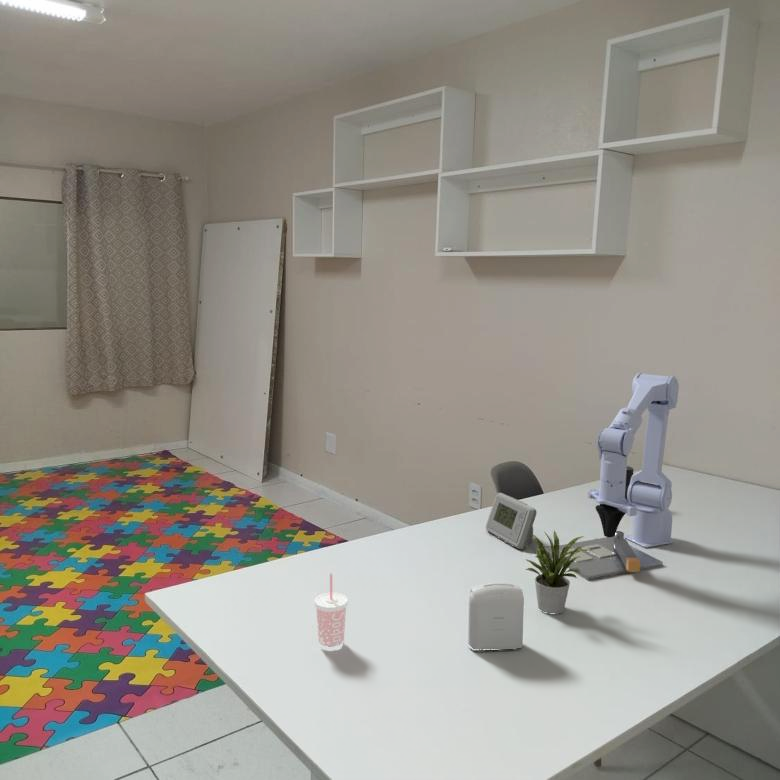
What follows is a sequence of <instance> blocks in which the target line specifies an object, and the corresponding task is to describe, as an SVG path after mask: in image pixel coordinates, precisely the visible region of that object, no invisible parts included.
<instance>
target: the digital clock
mask: <svg viewBox="0 0 780 780" xmlns="http://www.w3.org/2000/svg"><path fill="white" fill-rule="evenodd" d="M537 513H538V512H537V510H536V509H535V508H534V507H532V506H531V505H528V503H526V502H523V501H521V500H519V499H517V498H514V497H513V496H510V495H507V494H505V493H503V492H498V493H497V494H496V495H495V498H494V501H493V503H492V506H491V510H490V512H489V516H488V518H487V521H486V524H485V529H486V531H487V532H488V531H489V532H488V533H490V534H492V535H493V534H494V535H495V536H497V537H499V538H501V539H502V540H504V541H506V542H507V543H506V542H505V543H506V544H508V543H509V544H511V545H513V546H512V547H515V548H517V549H518V550H524V549H525V548H526V546H527V543H528V544H532V543H533V541H534V540H533V539H534V537H533V536H532V534H533V535H534V526H533V525H534V523H535V520H536V517H537ZM494 535H493V536H494ZM495 536H494V537H495ZM497 537H496V538H497ZM499 538H498V539H499ZM501 539H500V540H501ZM502 540H501V541H502ZM504 541H503V542H504ZM531 542H532V543H531ZM509 544H508V545H509ZM521 544H522V545H521ZM511 545H510V546H511ZM524 545H526V546H524Z"/></svg>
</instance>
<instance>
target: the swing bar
mask: <svg viewBox="0 0 780 780" xmlns="http://www.w3.org/2000/svg"><path fill="white" fill-rule="evenodd" d="M630 546H631V544H629V542H628V540H627V539H626V538H624V539H616V540H615V549H616V551H617V553H618V554H619V556H620V558H621V560H622V561H623V563H624V565H625V567H626V569H627V571H628V572H629V573H640V571H641V570H640V560H639V558H637V556H636V555H635V553H634V552H633V550H632V548H631V547H630Z"/></svg>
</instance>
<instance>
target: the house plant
mask: <svg viewBox="0 0 780 780" xmlns="http://www.w3.org/2000/svg"><path fill="white" fill-rule="evenodd" d="M543 533H544V534H545V536H546V537H547V538H548V539H547V540H549V543H550V547H551V549H552V558H551V557H549V552H548V550H545V548H546V547H545V545H544V544H543V543H542V541H541V540H540V539H539V538H538V537H537V536H536V535H534V533H533V534H532V536H533V539H534V540H535V542H536V545H537V548H536V555H534V557H535V558H537V559H538V563H539V564H538V563H536V562H534V561H533V560H530V559H525V561H526V562H529V563H530V564H531V565H533V567H535V568H536V569H538V570H539V571H538V570H536V569H535V568H533V567H527V568H525V571H530V572H533V573H535V574H537V575H536V576H535V578H534V583H535V591H536V600H537V609H538V608H539V609H540V610H542V611H544V612H547V613H555V614H557V615H559V614H558V613H561V612H562V613H564V609H565V606H566V602H567V597H568V593H569V589H570V584H571V582H570V580H569V577H572V578H575V579H578V577H577V576H576V574H575V572H578V573H579V574H580V570H579V569H577V568H573V569H568V567H569V565H570V564H571V563H572V562H573V561H574V560H575V559H577V558H579V557H575V558H573V559H571V557H572V556H573V555H574V554H576V553H578V552H581V551H591V550H587V549H582V550H579V549H580V548H582V547H584V546H580V547H578V548H576V549H575V550H574V551H573V552H572V553H571V554H570V556H567V557H565V556H566V555H567V554H568V553H569V552H571V551H569V552H568V550H569V549H570V547H571V546H572V545H573V544H574V543H576V542H578V541H579V540H580V539H582V538H584V537H585V536H577V537H575V538H572V539H571V540H570V541H569V542H568V543H566V544H567V546H566V547H564V548H563V550H562V552H561V555H560V558H559V545H560V539H559V537H558V535H557V532H556V531H555V530H553V539H552V537H551V536H550V535H548V534H547V533H546V532H545V531H543ZM521 545H522V544H521ZM524 546H525V547H527V548H528V549H530V550H532V551H533V549H532V548H531V547H530V546H528V545H527V544H526V545H524ZM564 557H565V558H564ZM580 557H581V556H580ZM567 558H568V559H567ZM570 559H571V560H570ZM567 569H568V570H567ZM569 572H571V573H569ZM572 572H573V573H572ZM567 577H568V578H567ZM539 609H538V610H539ZM540 610H539V611H540ZM562 613H561V614H562Z"/></svg>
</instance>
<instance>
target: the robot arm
mask: <svg viewBox="0 0 780 780" xmlns="http://www.w3.org/2000/svg"><path fill="white" fill-rule="evenodd" d="M631 384H632V385H631V391H632V397H630V400H629V402H628V404H627V407H623V408H621V409H619V411H618V412H617V414H616V416H615V417H614V419H613V420H612V422H611V423H610V425H609V427H605V428H603V429H601V430H600V432H599V434H598V437H597V442H596V445H597V450H598V459H599V460H600V470H599V471H600V472H599V473H600V475H599V490H598V489H595V488H592V489H588V490H587V498H588V499H593V500H595V502H596V503H597V504H599V505H596V506H595V510H596V512H597V514H598V516H599V519H600V523H601V527H602V532H603V536H604V537H605V538H606V537H608V538H609V537H614V536H615V533H616V531H618V527H619V525H620V523H621V521H622V519H623V517H624V516H625V515H627V516H628V517H632V532H631V534H627V535H624V539H626V540H627V541H628V540H629V541H630V542H633V543H635V544H637V545H639V546H641V547H643V548H645V549H646V548H647V549H648V548H652V547H658V546H662V545H668V544H672V543H674V541H673V540H672V528H673V516H672V515H673V514H672V513H671V511H670V509H669V508H670V506H671V503H672V500H673V499H672V498H673V492H672V485H673V484H672V481H671V479H669V477H667V475H665V474H664V472H663V471H662V470H663V464H664V454H665V448H666V447H665V446H666V436H667V429H668V428H667V427H668V422H669V421H668V420H669V414H670V410H672V409H676V407H677V403H678V397H679V389H680V385H679V382H678V379H677V377H676V376H674V375H671V376H667V375H660V374H649V373H643V372H638V373H637V374H636V375H635V376H634V378H633V380H632V383H631ZM646 409H647V410H648V414H647V423H646V430H645V439H644V446H643V457H642V464H641V470H640V471H637V472H635V473H634V474H633V475H632V477H631V481H630V485H629V487H628V492H627V497H628V500H629V501H627V500H626V499H625V486H626V470H627V466H628V456H629V455H630V453H631V451H632V449H633V444H634V441H635V435H636V433H637V432H638V430H639V428H640V427H641V425H642V423H643V418H642V415H643V414H644V412H645V411H646Z"/></svg>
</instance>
